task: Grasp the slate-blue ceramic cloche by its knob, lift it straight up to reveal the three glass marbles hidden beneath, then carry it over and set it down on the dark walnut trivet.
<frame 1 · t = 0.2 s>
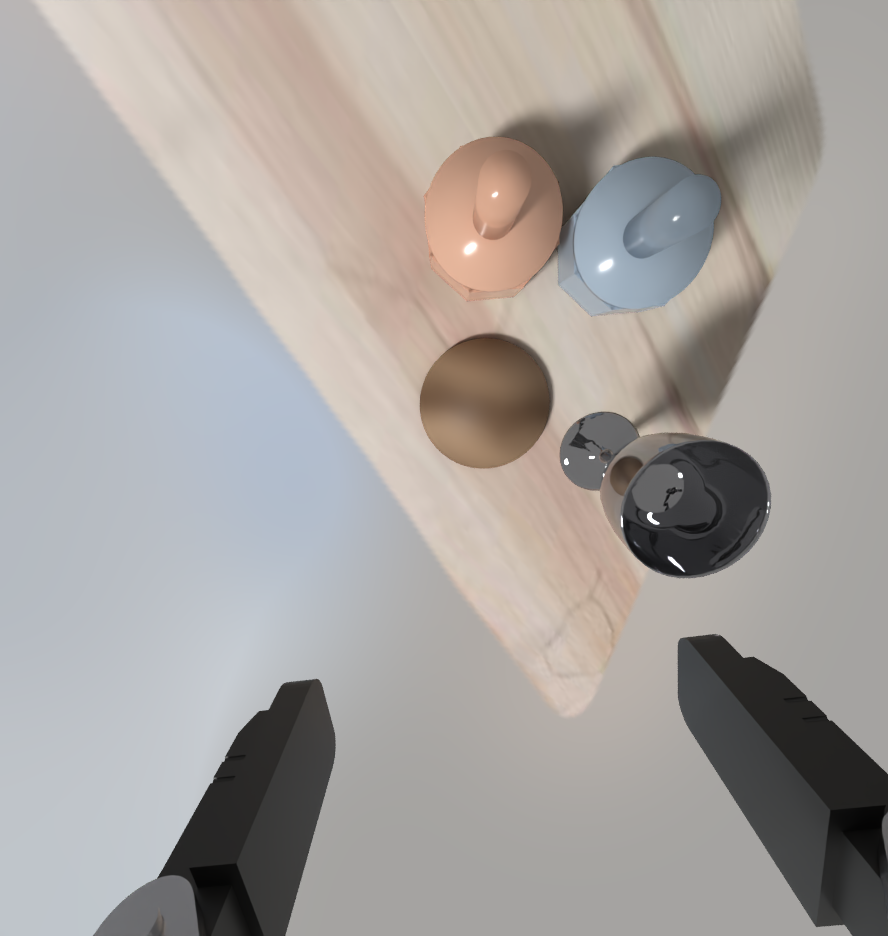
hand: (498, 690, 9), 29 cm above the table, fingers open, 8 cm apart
wine glass: (599, 451, 37), on the table
terracotta cloche: (486, 237, 33), on the table
walnut trivet: (483, 405, 36), on the table
slate cloche: (615, 253, 33), on the table
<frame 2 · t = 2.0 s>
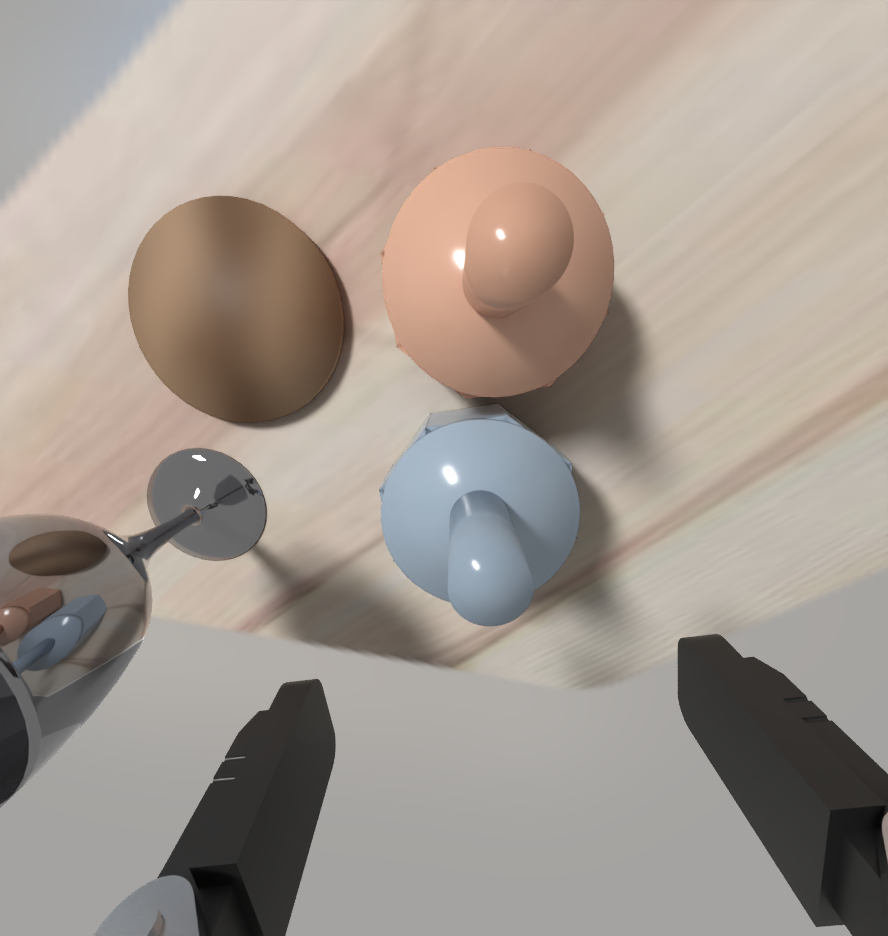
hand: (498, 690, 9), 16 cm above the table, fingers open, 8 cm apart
wine glass: (208, 505, 25), on the table
terracotta cloche: (487, 297, 22), on the table
walnut trivet: (240, 317, 22), on the table
slate cloche: (474, 485, 24), on the table
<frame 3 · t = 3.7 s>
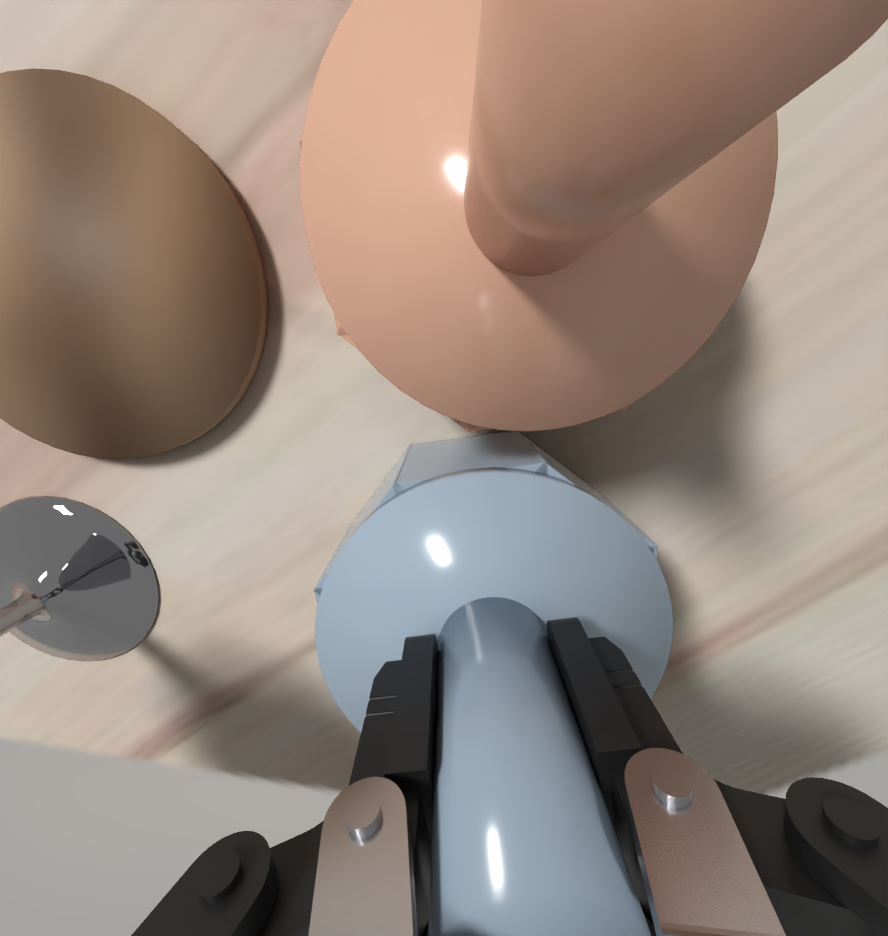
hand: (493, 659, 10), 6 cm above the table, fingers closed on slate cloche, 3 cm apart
wine glass: (71, 580, 17), on the table
terracotta cloche: (503, 256, 13), on the table
walnut trivet: (96, 288, 14), on the table
slate cloche: (479, 554, 16), on the table, touching gripper
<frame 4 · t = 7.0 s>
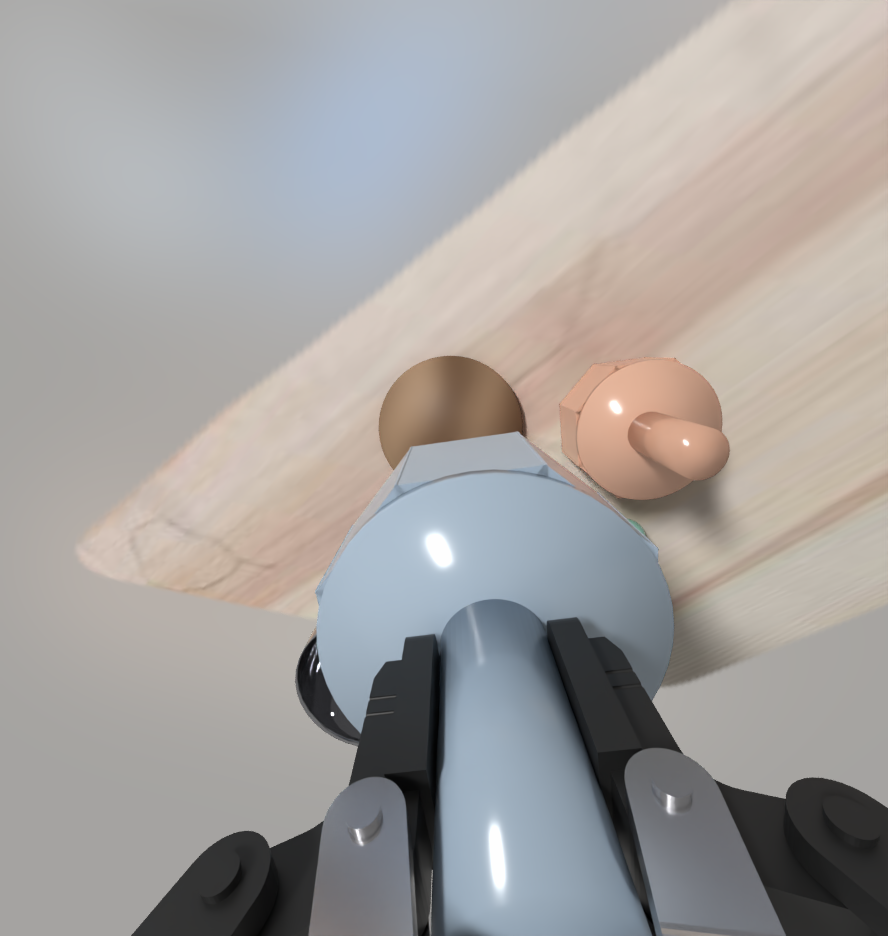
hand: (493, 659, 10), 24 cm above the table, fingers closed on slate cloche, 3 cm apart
wine glass: (406, 550, 36), on the table
terracotta cloche: (620, 421, 32), on the table
walnut trivet: (450, 428, 33), on the table
slate cloche: (479, 555, 16), point 18 cm above the table, touching gripper
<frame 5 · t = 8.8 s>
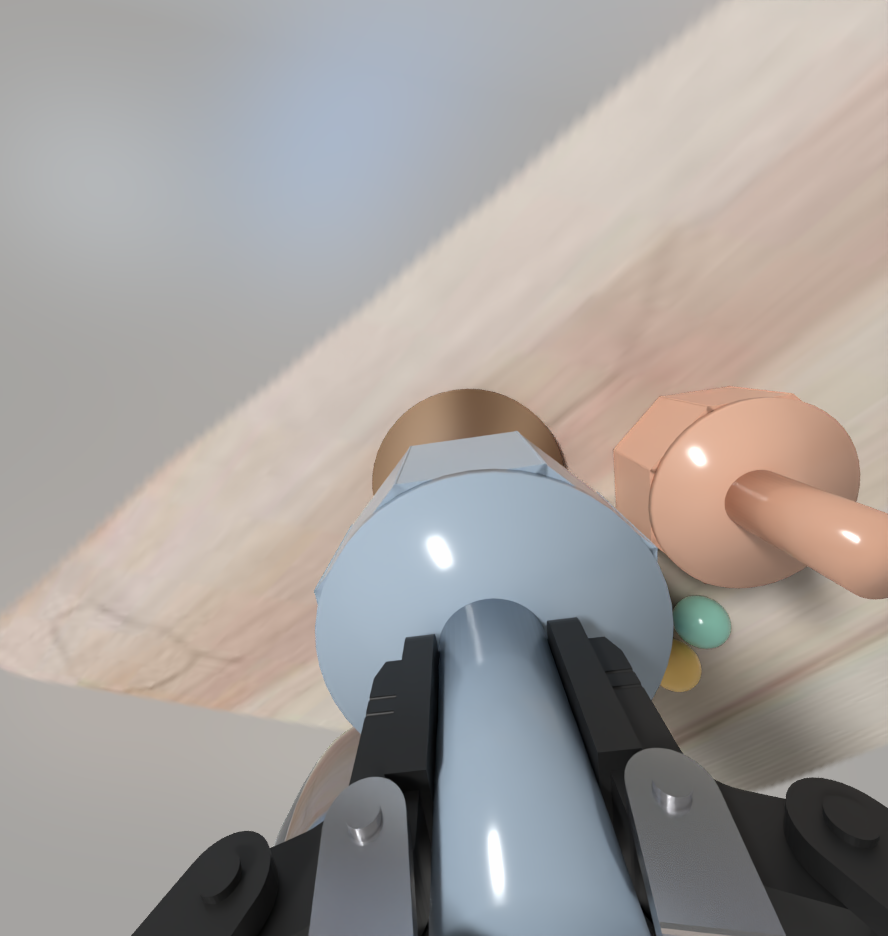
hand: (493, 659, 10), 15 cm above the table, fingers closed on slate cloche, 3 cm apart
wine glass: (412, 637, 28), on the table
terracotta cloche: (693, 469, 24), on the table
marble seagreen: (687, 607, 27), on the table
marble amber: (661, 648, 27), on the table
walnut trivet: (467, 483, 25), on the table
slate cloche: (479, 555, 16), point 9 cm above the table, touching gripper
when the fingers open (8 cm above the table, at t = 10.3 s): slate cloche drops 2 cm, resting on walnut trivet.
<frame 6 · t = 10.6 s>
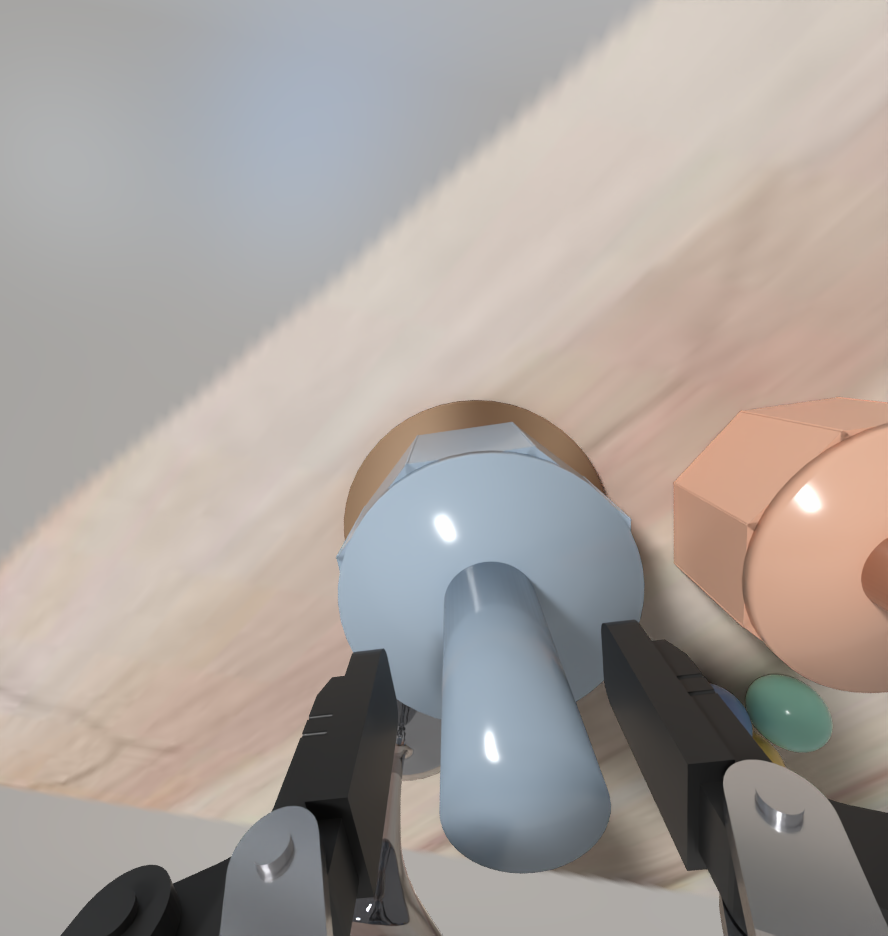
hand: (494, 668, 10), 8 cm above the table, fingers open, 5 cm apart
wine glass: (400, 721, 21), on the table
marble inkblue: (692, 693, 20), on the table
terracotta cloche: (781, 509, 18), on the table
marble seagreen: (762, 686, 20), on the table
marble amber: (725, 736, 21), on the table
walnut trivet: (474, 528, 18), on the table
slate cloche: (478, 533, 18), point 1 cm above the table, touching walnut trivet
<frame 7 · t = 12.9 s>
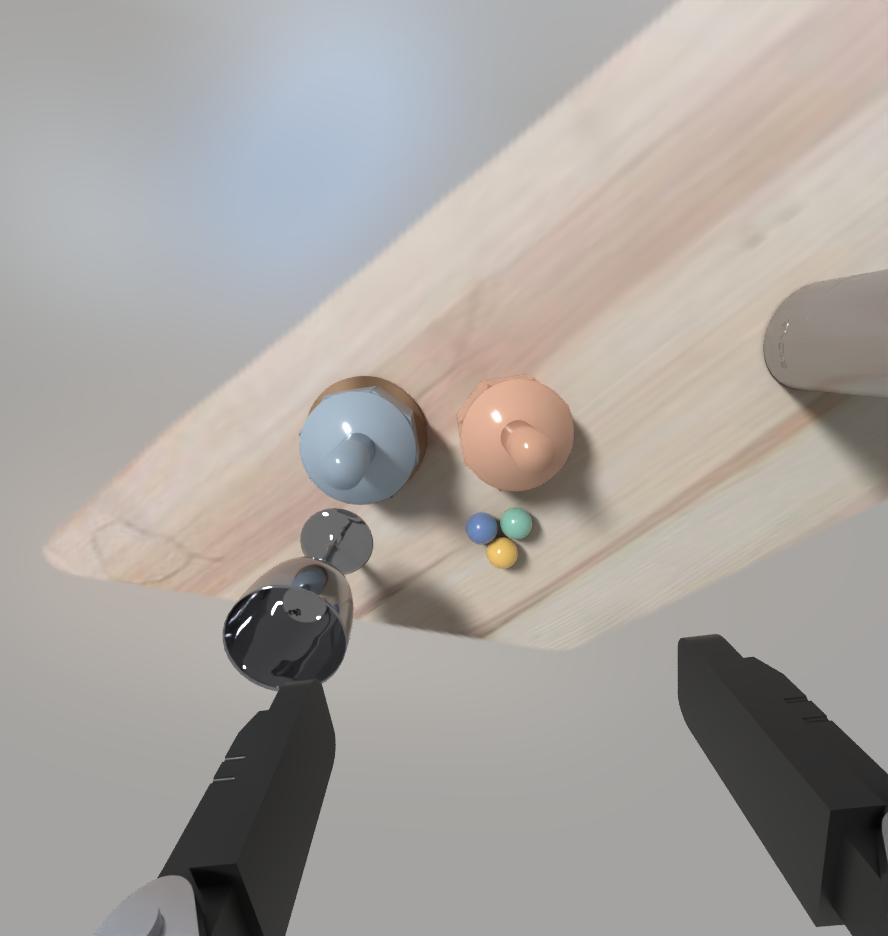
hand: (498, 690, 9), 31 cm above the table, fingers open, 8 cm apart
wine glass: (337, 541, 42), on the table
marble inkblue: (480, 522, 42), on the table
terracotta cloche: (507, 426, 39), on the table
marble seagreen: (513, 517, 41), on the table
marble amber: (499, 546, 42), on the table
walnut trivet: (367, 436, 39), on the table
slate cloche: (367, 437, 38), point 1 cm above the table, touching walnut trivet
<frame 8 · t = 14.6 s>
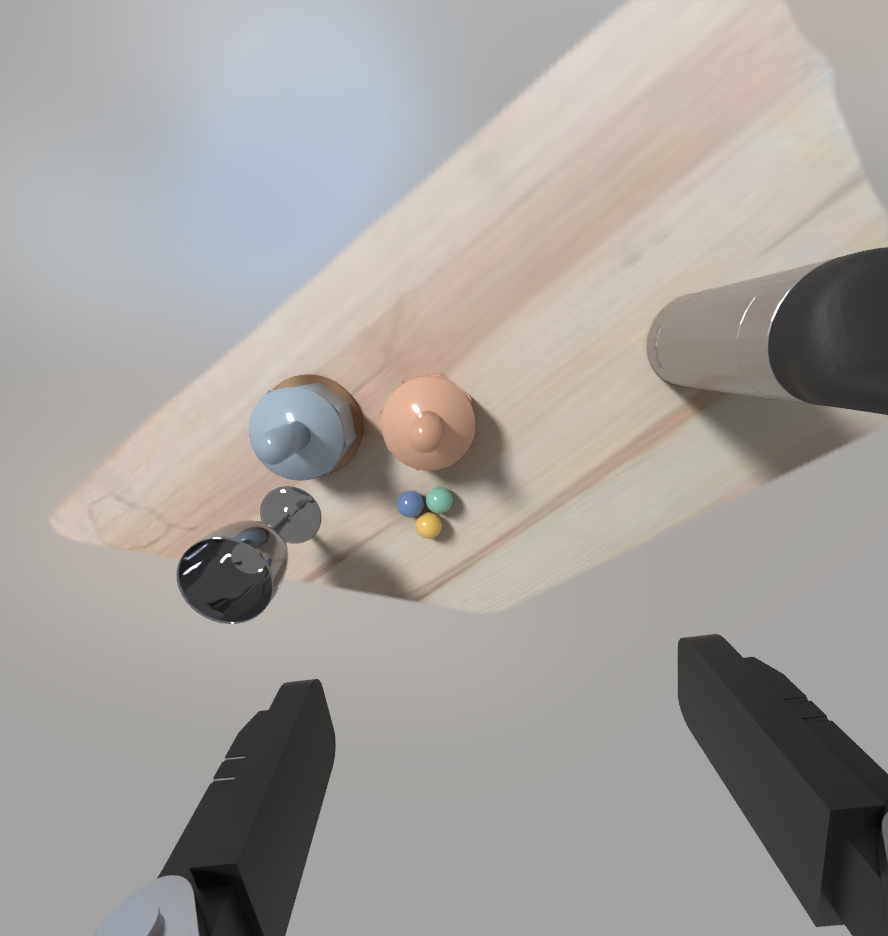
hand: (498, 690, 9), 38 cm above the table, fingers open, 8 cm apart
wine glass: (291, 514, 49), on the table
marble inkblue: (411, 499, 49), on the table
terracotta cloche: (430, 417, 46), on the table
marble seagreen: (439, 495, 48), on the table
marble amber: (429, 520, 49), on the table
walnut trivet: (312, 425, 46), on the table
slate cloche: (312, 426, 46), point 1 cm above the table, touching walnut trivet
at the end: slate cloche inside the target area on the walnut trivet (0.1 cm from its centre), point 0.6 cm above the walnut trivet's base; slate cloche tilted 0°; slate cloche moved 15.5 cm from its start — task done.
